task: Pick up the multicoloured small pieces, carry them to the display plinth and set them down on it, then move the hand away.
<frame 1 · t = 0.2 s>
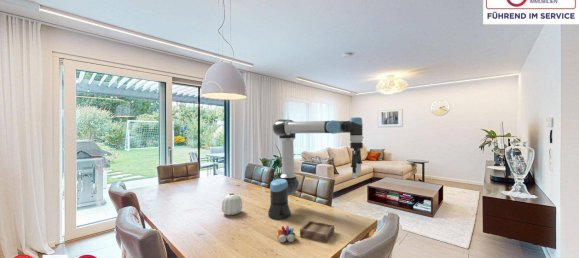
hand: (356, 176, 147), 28 cm above the table, fingers open, 13 cm apart
multicoloured small pieces: (286, 240, 124), on the table
vase: (232, 213, 163), on the table
display plinth: (317, 234, 128), on the table
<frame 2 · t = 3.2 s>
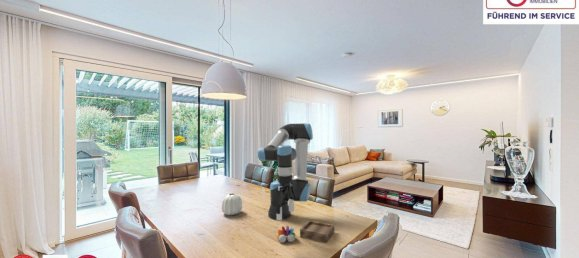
hand: (285, 215, 123), 13 cm above the table, fingers open, 13 cm apart
nothing on the table moved.
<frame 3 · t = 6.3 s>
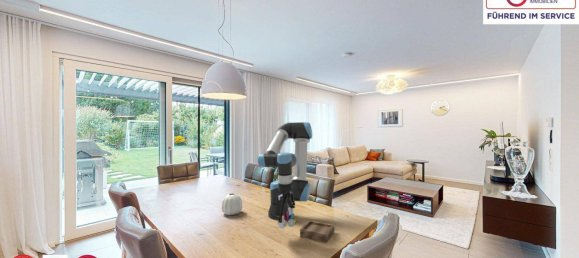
hand: (286, 223, 124), 8 cm above the table, fingers closed on multicoloured small pieces, 10 cm apart
multicoloured small pieces: (286, 225, 124), point 7 cm above the table, touching gripper
everything else where it was.
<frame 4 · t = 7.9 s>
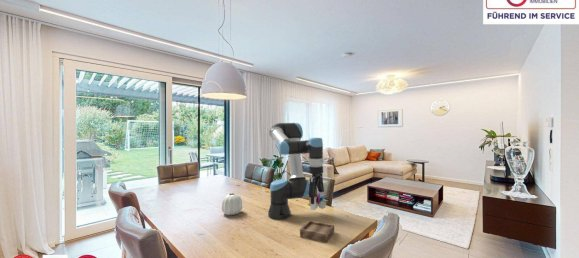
hand: (316, 206, 128), 15 cm above the table, fingers closed on multicoloured small pieces, 10 cm apart
multicoloured small pieces: (317, 207, 128), point 15 cm above the table, touching gripper
everything else where it was.
when the fingers open (4 cm above the table, at t = 9.8 s): multicoloured small pieces stays where it is, resting on display plinth.
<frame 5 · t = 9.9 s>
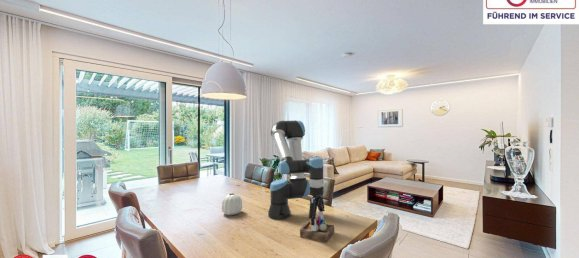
hand: (317, 226, 128), 4 cm above the table, fingers open, 11 cm apart
multicoloured small pieces: (318, 229, 128), point 3 cm above the table, touching display plinth
everything else where it was.
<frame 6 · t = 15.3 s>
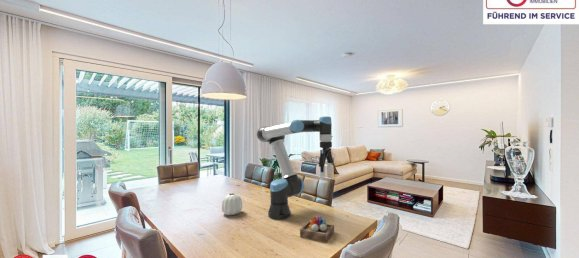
hand: (326, 175, 146), 29 cm above the table, fingers open, 13 cm apart
nothing on the table moved.
at the end: multicoloured small pieces inside the target area on the display plinth (0.4 cm from its centre), point 2.8 cm above the display plinth's base; multicoloured small pieces tilted 0°; the gripper is holding nothing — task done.
